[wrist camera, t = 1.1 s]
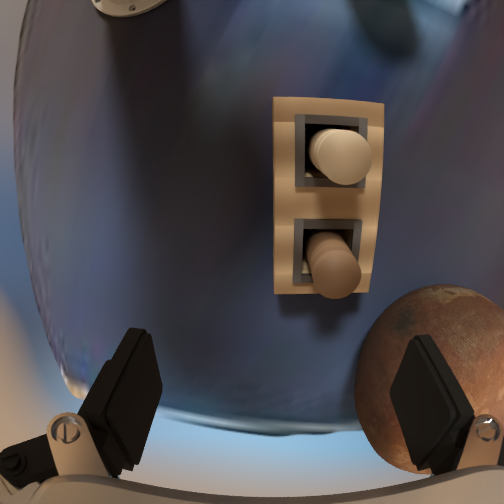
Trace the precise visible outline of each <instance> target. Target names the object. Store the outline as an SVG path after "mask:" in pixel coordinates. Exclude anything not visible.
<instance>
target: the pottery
mask: <svg viewBox="0 0 504 504" xmlns="http://www.w3.org/2000/svg"><path fill="white" fill-rule="evenodd" d="M424 334H429V335H430V336H431V337H432V338H433V340H434V342H435V343H436V345H437V346H438V348H439V350H440V351H441V353H442V355H443V356H444V358H445V360H446V361H447V363H448V365H449V366H450V368H451V370H452V372H453V373H454V375H455V377H456V379H457V380H458V382H459V384H460V386H461V387H462V389H463V391H464V393H465V395H466V396H467V398H468V400H469V402H470V404H471V406H472V408H473V410H474V411H475V412H474V415H475V417H477V416H479V415H481V414H488V415H492V416H494V417H496V418H497V419H498V420H499V421H500V423H501V424H502V426H503V430H504V310H503V309H502V308H500V307H499V306H498V305H496V304H495V303H493V302H492V301H490V300H489V299H487V298H486V297H484V296H483V295H481V294H479V293H477V292H475V291H473V290H471V289H468V288H465V287H461V286H457V285H451V284H439V285H432V286H426V287H422V288H419V289H417V290H414V291H411V292H409V293H407V294H406V295H404V296H402V297H400V298H399V299H397V300H396V301H395V302H393V303H392V304H391V305H390V306H389V307H388V308H386V309H385V310H384V311H383V313H382V314H381V315H380V316H379V317H378V318H377V320H376V321H375V323H374V324H373V326H372V328H371V330H370V331H369V333H368V335H367V337H366V340H365V342H364V345H363V347H362V350H361V354H360V358H359V363H358V369H357V374H356V380H355V390H354V399H355V408H356V412H357V415H358V418H359V422H360V424H361V426H362V428H363V431H364V433H365V435H366V437H367V439H368V441H369V442H370V444H371V445H372V447H373V449H374V450H375V451H376V453H377V454H378V455H379V456H380V457H382V458H383V459H384V460H385V461H386V462H388V463H389V464H391V465H393V466H395V467H396V468H399V469H402V470H405V471H408V472H412V473H417V474H431V473H432V472H431V469H430V468H429V469H425V470H421V471H417V467H416V465H413V464H412V462H411V459H410V455H409V452H408V449H407V446H406V443H405V440H404V437H403V433H402V430H401V427H400V424H399V421H398V419H397V416H396V413H395V410H394V407H393V404H392V401H391V398H390V394H389V393H390V387H391V385H392V383H393V380H394V378H395V376H396V373H397V371H398V369H399V366H400V364H401V361H402V359H403V356H404V353H405V351H406V348H407V345H408V343H409V341H410V340H411V339H413V337H414V336H415V335H424ZM503 436H504V434H503Z"/></svg>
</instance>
